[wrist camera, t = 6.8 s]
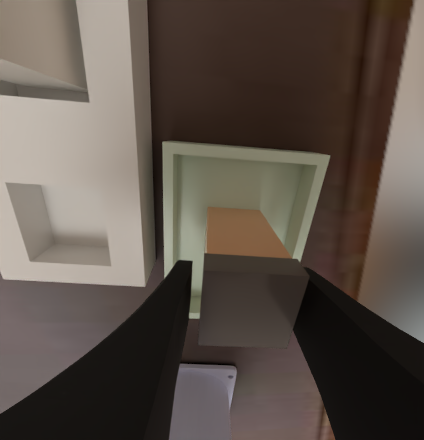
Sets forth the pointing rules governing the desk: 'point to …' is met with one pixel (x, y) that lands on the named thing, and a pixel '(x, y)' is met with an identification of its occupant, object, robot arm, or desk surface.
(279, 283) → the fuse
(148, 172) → the block
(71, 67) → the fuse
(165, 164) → the parts tray
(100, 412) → the robot arm
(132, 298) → the desk surface
